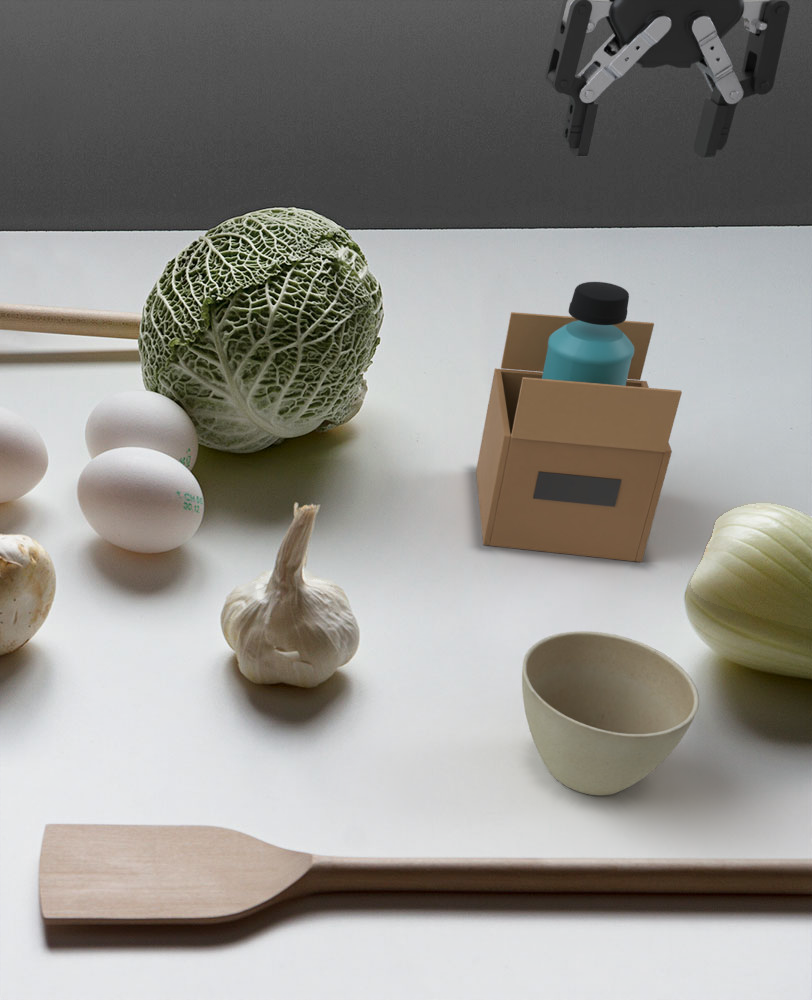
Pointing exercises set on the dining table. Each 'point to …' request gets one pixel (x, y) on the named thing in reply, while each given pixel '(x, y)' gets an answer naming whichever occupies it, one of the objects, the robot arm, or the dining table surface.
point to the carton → (572, 451)
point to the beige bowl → (604, 708)
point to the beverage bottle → (592, 338)
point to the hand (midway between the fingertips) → (640, 154)
